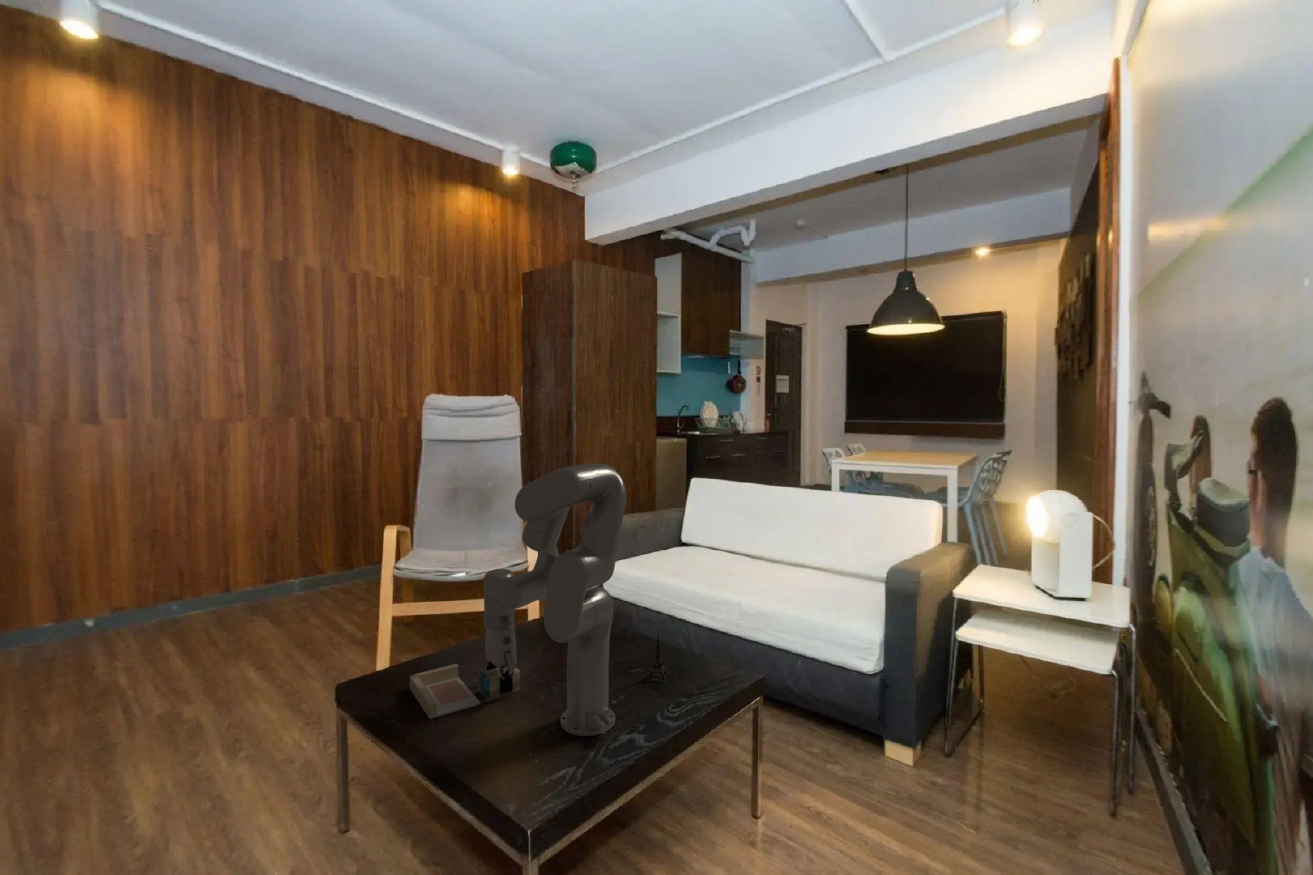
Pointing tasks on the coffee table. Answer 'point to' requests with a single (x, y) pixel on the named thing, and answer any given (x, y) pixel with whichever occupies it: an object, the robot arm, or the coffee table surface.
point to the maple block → (495, 682)
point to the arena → (441, 691)
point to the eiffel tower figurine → (656, 668)
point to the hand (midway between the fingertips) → (499, 685)
